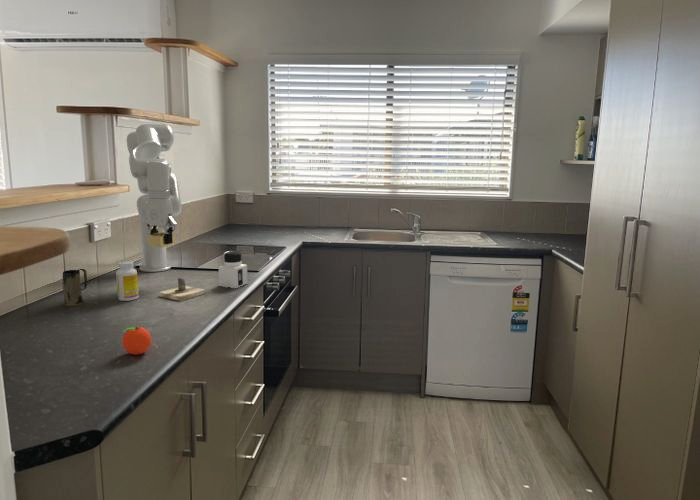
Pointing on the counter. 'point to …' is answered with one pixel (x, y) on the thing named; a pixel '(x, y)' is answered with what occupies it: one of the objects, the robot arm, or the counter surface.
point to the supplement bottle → (127, 281)
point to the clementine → (136, 340)
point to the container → (232, 270)
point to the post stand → (181, 291)
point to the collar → (159, 239)
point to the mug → (73, 287)
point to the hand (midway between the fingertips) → (161, 242)
